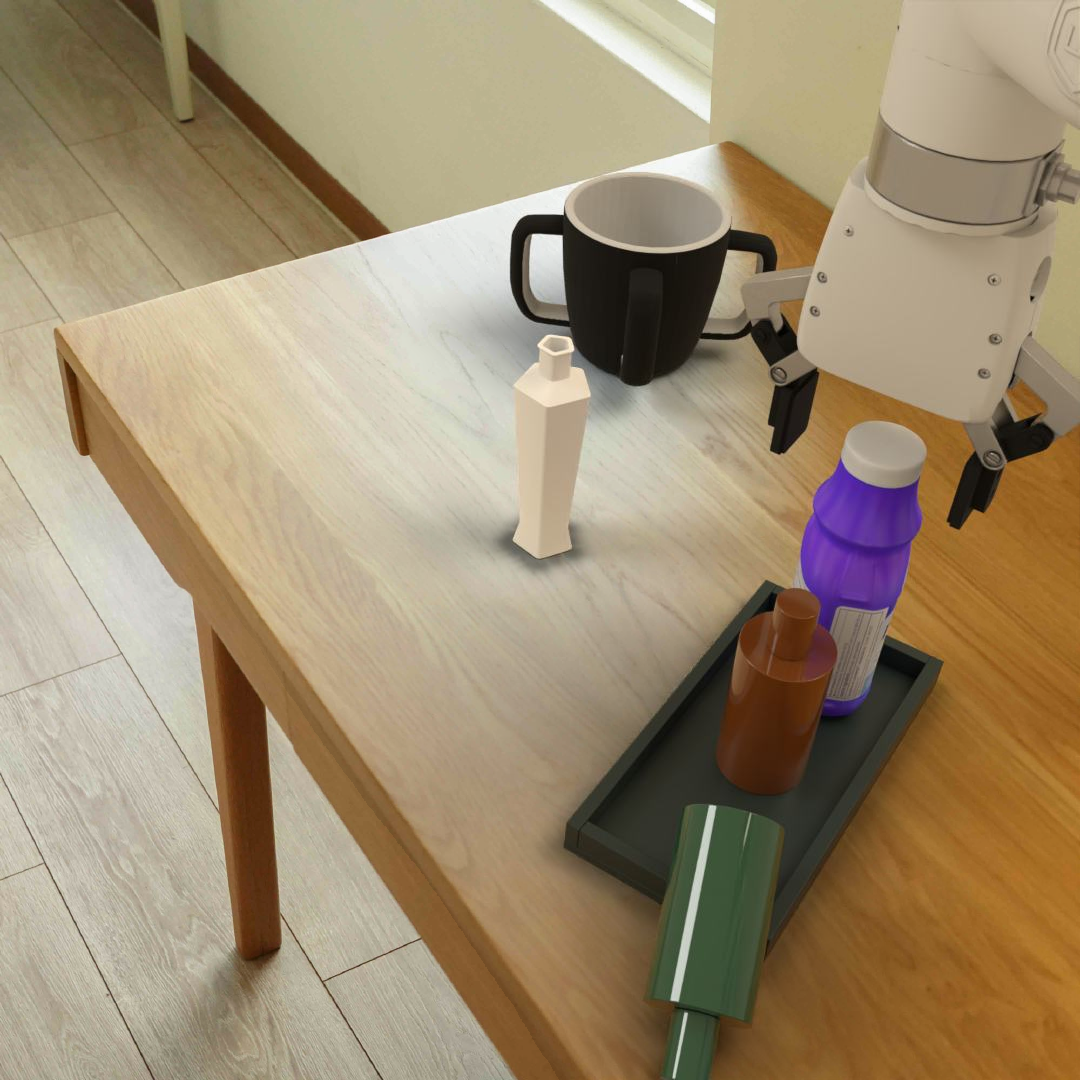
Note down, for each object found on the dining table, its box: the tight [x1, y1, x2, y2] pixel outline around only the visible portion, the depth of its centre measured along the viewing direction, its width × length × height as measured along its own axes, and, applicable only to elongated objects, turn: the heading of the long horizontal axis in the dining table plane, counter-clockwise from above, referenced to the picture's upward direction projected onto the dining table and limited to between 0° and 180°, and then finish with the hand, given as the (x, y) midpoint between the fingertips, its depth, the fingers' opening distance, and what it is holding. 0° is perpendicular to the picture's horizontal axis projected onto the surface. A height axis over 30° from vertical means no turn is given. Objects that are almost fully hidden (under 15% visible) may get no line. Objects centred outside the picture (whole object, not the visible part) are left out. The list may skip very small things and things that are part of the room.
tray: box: [563, 579, 945, 964], centre depth 74 cm, size 12×23×2 cm, turn 146°
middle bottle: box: [715, 587, 838, 795], centre depth 70 cm, size 5×5×12 cm
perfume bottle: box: [512, 334, 592, 560], centre depth 83 cm, size 5×4×15 cm
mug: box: [509, 171, 778, 387], centre depth 101 cm, size 16×16×12 cm
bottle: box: [790, 420, 928, 717], centre depth 73 cm, size 7×6×17 cm
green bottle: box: [642, 804, 786, 1080], centre depth 62 cm, size 5×5×12 cm
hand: (873, 476), depth 69 cm, fingers open, 9 cm apart
